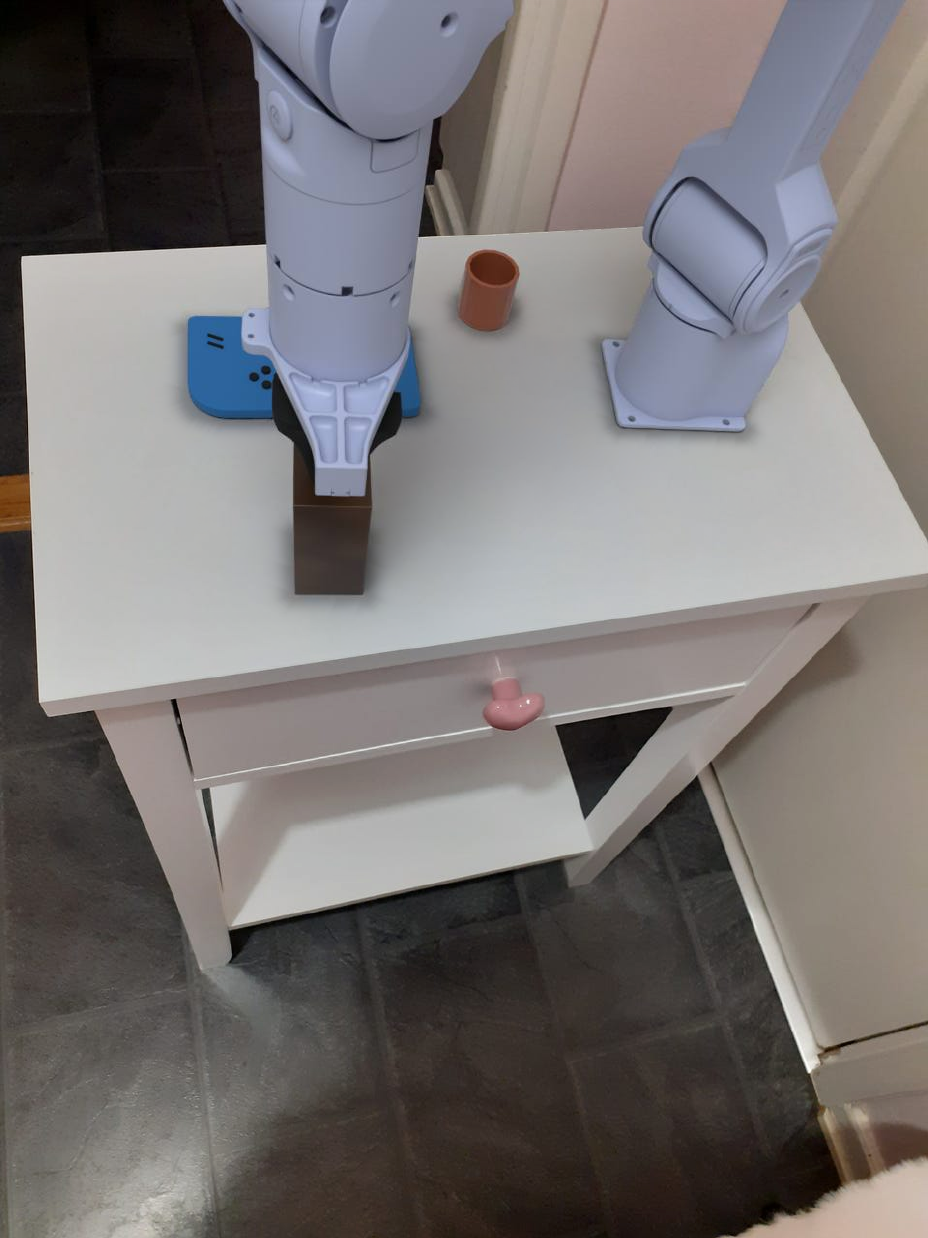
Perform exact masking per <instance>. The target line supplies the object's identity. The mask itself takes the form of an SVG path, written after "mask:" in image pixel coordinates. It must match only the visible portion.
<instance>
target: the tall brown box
mask: <svg viewBox="0 0 928 1238" xmlns="http://www.w3.org/2000/svg"><path fill="white" fill-rule="evenodd" d="M292 451H293V453H292V532H293V535H292V536H293V538H292V539H293V580H294V581H293V583H294V584H293V585H294V595H325V596H326V595H335V596H336V595H337V596H339V595H341V596H343V595H345V596H347V595H348V596H350V595H351V596H352V595H353V596H362V595H363V594H364V588H365V586H364V585H365V578H366V570H367V562H368V561H367V560H368V550H369V542H370V532H371V522H372V515H373V491H372V489H373V488H372V468H371V467H372V464H371V463H372V462H371V456H370V457H369V459H368V468H367V479H366V489H365V496H325V495H316V494H315V487H314V486H313V484H312V482H311V480H310V478H309V476H308V474H307V471H306V468H305V465H304V462H303V459H302V457H301V454H300V452H299V450H298V448H297V447H296V445H295V444H294V443H293V445H292Z"/></svg>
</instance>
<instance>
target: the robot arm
mask: <svg viewBox="0 0 928 1238" xmlns="http://www.w3.org/2000/svg"><path fill="white" fill-rule="evenodd" d="M906 1H907V0H786V2H785V4H784V7H783V9H782V11H781V14H780V16H779V18H778V21H777V23H776V24H775V27H774V29H773V32H772V34H771V36H770V39H769V41H768V43H767V45H766V48H765V50H764V52H763V54H762V57H761V59H760V61H759V63H758V65H757V68H756V70H755V72H754V75H753V76H752V79H751V81H750V84H749V86H748V88H747V91H746V93H745V95H744V97H743V100H742V102H741V104H740V106H739V109H738V111H737V113H736V115H735V118H734V119H733V122H732V125H731V126H724V127H719V128H717V129H714V130H710V131H708V132H705V133H703V134H702V135H700V136H699V137H696V139H694V140H692V141H691V142H689V143H688V144H687V145H685V146H684V147H682V149H681V151H680V153H679V156H678V158H677V160H676V162H675V163H674V166H673V168H672V169H671V171H670V172H669V175H668V176H667V178H666V179H665V180H664V181H663V183H662V184H661V185H660V186H659V188H658V189H657V190H656V192H655V194H654V195H653V197H652V198H651V200H650V203H649V204H648V206H647V208H646V212H645V216H644V220H643V224H642V233H641V234H642V239H643V242H644V244H645V245H646V246H647V247H648V248H650V249H651V250H652V251H651V253H650V256H649V257H648V261H647V264H646V268H648V270H649V271H650V272H651V274H652V277H651V281H650V282H649V285H648V287H647V290H646V292H645V295H644V297H643V300H642V302H641V305H640V307H639V310H638V312H637V314H636V317H635V319H634V322H633V324H632V326H631V329H630V331H629V334H628V336H627V339H612V338H607V339H604V340H603V341H602V342H601V351H602V352H601V353H602V355H603V362H604V365H605V371H606V377H607V381H608V386H609V390H610V395H611V401H612V405H613V411H614V415H615V421H616V424H617V425H618V426H619V427H621V428H629V429H630V428H631V429H632V428H633V429H634V428H635V429H656V430H657V429H659V430H660V429H662V430H685V431H686V430H687V431H689V430H690V431H712V432H713V431H714V432H715V431H716V432H737V433H738V432H739V433H740V432H743V431H744V429H746V426H747V422H746V419H745V416H746V414H747V413H748V411H749V409H750V408H751V406H752V404H753V403H754V401H755V400H756V398H757V396H759V395H758V394H759V393H760V391H761V390H762V388H763V387H764V385H765V383H766V382H767V380H768V379H769V377H770V375H771V374H772V372H773V370H774V369H775V367H776V366H777V364H778V362H779V360H780V358H781V356H782V353H783V351H784V347H785V345H786V341H787V336H788V330H789V312H790V311H792V310H793V308H795V306H796V305H797V304H798V303H799V302H800V301H801V300H802V299H803V298H804V296H805V295H806V293H807V292H808V291H809V289H810V288H811V286H812V285H813V283H814V282H815V280H816V279H817V276H818V274H819V271H820V268H821V263H822V258H823V255H824V253H825V250H826V248H827V246H828V244H829V242H830V241H831V239H832V236H833V233H834V230H835V229H836V227H837V226H838V224H839V219H838V213H837V210H836V207H835V204H834V201H833V198H832V195H831V192H830V189H829V186H828V182H827V180H826V177H825V174H824V170H823V168H822V163H821V157H822V155H823V153H824V151H825V149H826V147H827V146H828V144H829V142H830V140H831V138H832V137H833V135H834V133H835V131H836V129H837V127H838V125H839V124H840V122H841V120H842V118H843V116H844V114H845V113H846V111H847V109H848V107H849V105H850V103H851V102H852V100H853V98H854V96H855V94H856V93H857V91H858V90H859V87H860V85H861V83H862V81H863V79H864V77H865V76H866V74H867V73H868V70H869V69H870V66H871V65H872V63H873V61H874V59H875V57H876V56H877V54H878V52H879V50H880V48H881V46H882V44H883V43H884V42H885V39H886V38H887V35H888V33H889V32H890V30H891V28H892V27H893V24H894V22H895V21H896V19H897V18H898V15H899V13H900V11H901V10H902V8H903V6H904V4H905V2H906ZM222 2H223V4H224V6H225V7H226V9H227V11H228V12H229V13H230V15H231V16H232V17H233V19H234V20H235V21H236V22H237V23H238V24H239V25H240V26H241V27H242V28H243V29H244V31H245V32H246V34H247V35H248V37H249V40H250V42H251V47H252V53H253V70H254V80H256V81H257V83H258V97H259V98H258V99H259V119H260V120H259V121H260V122H259V123H260V144H261V164H262V165H261V166H262V168H261V169H262V189H263V208H264V209H263V210H264V212H263V213H264V233H265V250H266V251H265V252H266V253H265V254H266V266H267V267H266V269H267V293H268V294H267V295H268V307H264V308H257V307H256V308H255V307H253V308H248V309H246V310H245V311H244V312H243V313H242V315H241V317H242V331H241V338H242V346H243V350H245V351H246V352H247V353H249V354H253V355H264V356H267V357H268V358H269V359H270V360H271V361H272V363H273V365H274V367H275V369H276V371H277V374H278V376H279V378H280V379H273V380H272V415H273V418H272V420H273V422H274V424H275V427H276V429H277V431H278V432H279V433H281V434H282V435H283V436H285V437H286V438H288V439H289V440H290V441H291V442H292V443H293V444H295V445H296V447H297V448H298V450H299V452H300V454H301V457H302V459H303V462H304V465H305V468H306V471H307V474H308V476H309V478H310V480H311V482H312V484H313V486H314V487H315V494H316V495H325V496H365V489H366V479H367V468H368V459H369V457H370V458H371V455H372V454H373V452H374V451H375V450H376V449H377V448H378V447H379V446H380V445H381V444H383V443H385V442H386V441H388V440H389V439H392V438H393V437H395V436H397V434H398V432H399V429H400V427H401V424H402V421H403V417H402V401H401V392H394V389H395V387H396V385H397V382H398V380H399V378H400V375H401V373H402V371H403V368H404V366H405V364H406V361H407V358H408V353H409V346H410V333H411V329H410V330H409V327H410V324H409V315H410V308H411V301H412V292H413V285H414V279H415V278H414V277H415V269H416V262H417V250H418V242H419V236H420V235H419V234H420V226H421V219H422V210H423V204H424V195H425V187H426V179H427V171H428V165H429V157H430V149H431V141H432V133H433V126H434V120H435V119H437V118H440V117H442V116H444V115H445V114H447V112H448V111H449V110H450V109H451V108H452V107H453V106H454V104H455V103H456V102H457V101H458V99H459V98H460V97H461V95H462V94H463V93H464V91H465V90H466V88H467V87H468V85H469V83H470V82H471V81H472V78H473V77H474V75H475V73H476V71H477V69H478V67H479V65H480V63H481V60H482V58H483V56H484V53H485V52H486V50H487V49H488V47H489V46H490V44H491V43H492V41H494V40H495V38H497V37H498V36H499V35H500V34H501V33H502V32H504V31H505V30H506V28H507V26H506V24H507V21H508V20H509V19H511V18H512V17H513V15H514V14H515V6H514V0H222Z"/></svg>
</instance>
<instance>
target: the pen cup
mask: <svg viewBox="0 0 928 1238" xmlns="http://www.w3.org/2000/svg"><path fill="white" fill-rule="evenodd" d="M520 275H521V272H520V267H519V265H518V264H517V262H516V261H515V259H513V258H512V257H511V256H510V255H508V254H507V253H504V252H502V251H499V250H496V249H481V250H477V251H474V252H473V253H472V254H470V255H468V257H467V259H466V261H465V264H464V269H463V275H462V280H461V285H460V290H459V296H458V302H457V314H458V316H459V317H460V320H461V321H462V322H463V323H464V324H466V325H467V326H468V327H470V328H472V329H474V330H478V331H482V332H493V331H497V330H500V329H501V328H503V327H504V326H505V325H506V324H507V322H508V321H509V317H510V314H511V311H512V307H513V304H514V303H513V302H514V300H515V295H516V291H517V288H518V283H519V280H520Z"/></svg>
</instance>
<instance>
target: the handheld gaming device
mask: <svg viewBox="0 0 928 1238" xmlns="http://www.w3.org/2000/svg"><path fill="white" fill-rule="evenodd" d="M409 330H410V331H411V327H410V326H409ZM241 331H242V316H239V315H238V316H234V315H233V316H230V315H193V316H190V317H189V318H188V320H187V388H188V395H189V397H190V399H191V401H192V403H193V404H194V406H196V407H197V408H198V409H199V410H201V411H202V412H203V413H205V414H208V415H210V416H213V417H217V418H221V419H271V418H272V419H273V415H272V380H273V379H280V378H279V376H278V374H277V371H276V369H275V367H274V365H273V363H272V361H271V360H270V359H269V358H268V357H267V356H264V355H253V354H249V353H247V352H246V351H245V350H243V346H242V338H241ZM394 392H401V401H402V418H407V417H408V418H410V417H415V416H417V415H418V414H419V413H420V409H421V403H422V402H421V394H420V388H419V381H418V375H417V367H416V360H415V355H414V347H413V340H412V334H411V332H410V346H409V353H408V358H407V361H406V364H405V366H404V368H403V371H402V373H401V375H400V378H399V380H398V382H397V385H396V387H395V389H394Z"/></svg>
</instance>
